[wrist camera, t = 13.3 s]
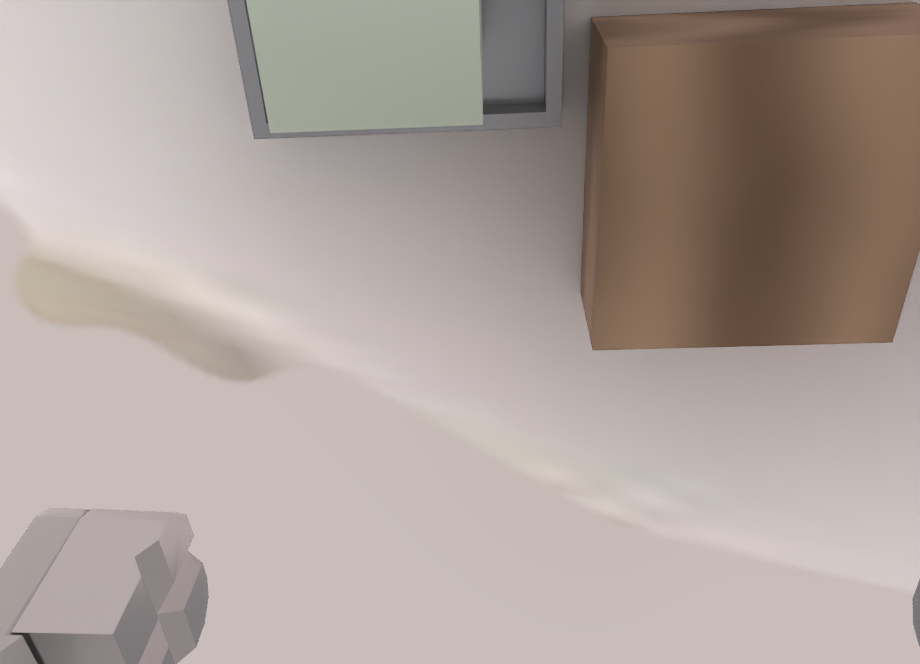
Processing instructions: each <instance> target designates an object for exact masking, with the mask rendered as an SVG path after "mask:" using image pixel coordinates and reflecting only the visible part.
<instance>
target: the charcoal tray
mask: <svg viewBox="0 0 920 664" xmlns="http://www.w3.org/2000/svg"><path fill="white" fill-rule="evenodd" d="M227 1H228V6H229V11H230V16H231V21H232V27H233V32H234V37H235V42H236V47H237V53H238V58H239V63H240V68H241V73H242V79H243V84H244V89H245V94H246V99H247V104H248V110H249V115H250V120H251V125H252V130H253V136H254V139H268V138H294V137H319V136H344V135H370V134H395V133H421V132H446V131H472V130H497V129H522V128H548V127H561V122H562V74H563V26H564V0H481V3H482V34H483V125H465V126H440V127H414V128H389V129H364V130H338V131H313V132H288V133H270V130H269V124H268V119H267V113H266V108H265V102H264V97H263V91H262V85H261V80H260V74H259V69H258V63H257V58H256V52H255V47H254V41H253V36H252V30H251V25H250V19H249V14H248V8H247V2H246V0H227Z"/></svg>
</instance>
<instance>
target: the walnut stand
mask: <svg viewBox="0 0 920 664" xmlns="http://www.w3.org/2000/svg"><path fill="white" fill-rule="evenodd" d="M919 250H920V4H917V3H896V4H874V5H852V6H830V7H808V8H786V9H764V10H742V11H720V12H698V13H676V14H654V15H632V16H610V17H591V34H590V60H589V86H588V112H587V138H586V164H585V190H584V216H583V242H582V268H581V296H582V301H583V306H584V311H585V316H586V320H587V325H588V330H589V335H590V340H591V344H592V349H593V350H622V349H660V348H698V347H736V346H773V345H811V344H849V343H887V342H893V338H894V335H895V332H896V328H897V325H898V321H899V318H900V315H901V311H902V308H903V304H904V301H905V297H906V294H907V291H908V287H909V284H910V280H911V277H912V274H913V270H914V267H915V263H916V260H917V256H918V253H919Z"/></svg>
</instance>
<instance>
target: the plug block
mask: <svg viewBox="0 0 920 664" xmlns="http://www.w3.org/2000/svg"><path fill="white" fill-rule="evenodd" d="M246 2H247V8H248V14H249V19H250V25H251V30H252V36H253V41H254V47H255V52H256V58H257V63H258V69H259V74H260V80H261V85H262V91H263V97H264V102H265V108H266V113H267V119H268V124H269V130H270V133H288V132H313V131H338V130H364V129H389V128H414V127H440V126H465V125H483V34H482V3H481V0H246Z"/></svg>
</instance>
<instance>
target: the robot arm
mask: <svg viewBox="0 0 920 664" xmlns="http://www.w3.org/2000/svg"><path fill="white" fill-rule="evenodd" d="M193 537H194V534H193V531H192V529H191V526H190V523H189V520H188V518H187V515H185V514H181V513H177V512H155V511H131V510H106V509H92V510H91V509H65V508H48V509H47V510H45V511H44V512H42V513H41V514H39V515H38V516H36V517H35V518H34V520H33V521H32V523H31V524H30V526H29V527H28V529H27V530H26V531H25V533H24V535H23V536H22V537H21V539H20V540H19V542H18V543H17V545H16V547H15V548H14V549H13V551H12V552H11V554H10V555H9V557H8V558H7V560H6V561H5V563H4V564H3V566H2V567H1V569H0V664H177V663H178V662H179V661H180V660H182V659H183V658H184V657H185V656H186V655H188V654H189V653H190V652H191V651H192V650H193V649H195V648H196V646H197V643H198V641H199V638H200V635H201V632H202V629H203V626H204V623H205V617H206V610H207V603H208V584H207V576H206V573H205V569H204V566H203V563H202V562H201V561H200V560H198V559H197V558H196V557H195V556H193V555H192V554H191V553H190V552H188V548H189V546H190V544H191V542H192V539H193ZM913 625H914V629H915V632H916V636H917V639H918V643H919V646H920V580H919V583H918V586H917V588H916V591H915V594H914V597H913Z"/></svg>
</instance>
